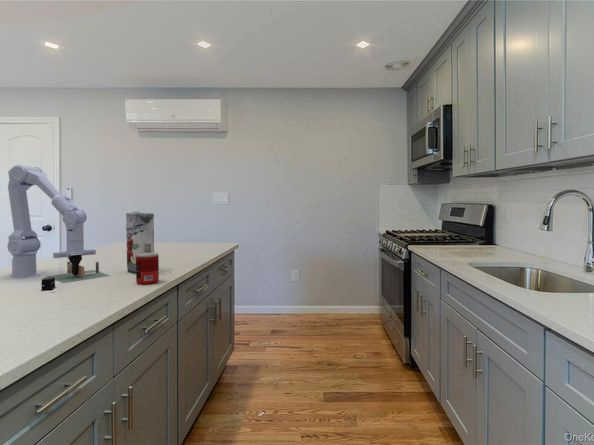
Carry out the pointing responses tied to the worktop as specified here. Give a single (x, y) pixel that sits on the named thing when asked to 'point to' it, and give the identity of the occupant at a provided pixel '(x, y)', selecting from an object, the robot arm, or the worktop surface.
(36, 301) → the worktop surface
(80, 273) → the gate panel
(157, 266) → the canned food
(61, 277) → the card
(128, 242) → the juice carton
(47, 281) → the black small block
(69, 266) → the tan and grey block
